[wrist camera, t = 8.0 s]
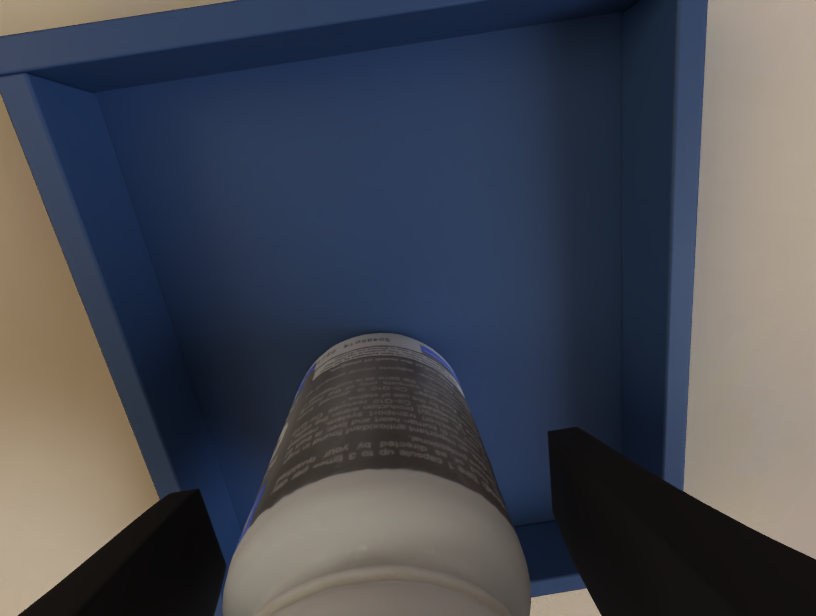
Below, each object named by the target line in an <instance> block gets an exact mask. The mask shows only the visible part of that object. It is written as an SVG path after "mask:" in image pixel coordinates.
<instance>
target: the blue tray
mask: <svg viewBox="0 0 816 616" xmlns="http://www.w3.org/2000/svg"><path fill="white" fill-rule="evenodd" d="M707 6H708V0H237V1H230V2H223V3H217V4H210V5H204V6H197V7H191V8H184V9H177V10H171V11H164V12H158V13H151V14H145V15H138V16H131V17H125V18H118V19H112V20H105V21H98V22H92V23H85V24H79V25H72V26H66V27H59V28H52V29H46V30H39V31H33V32H26V33H19V34H13V35H6V36H0V93H1V96H2V98H3V101H4V103H5V106H6V108H7V111H8V114H9V116H10V119H11V121H12V124H13V126H14V129H15V131H16V134H17V136H18V139H19V142H20V144H21V147H22V149H23V152H24V154H25V157H26V159H27V162H28V164H29V167H30V170H31V172H32V175H33V177H34V180H35V182H36V185H37V187H38V190H39V193H40V195H41V198H42V200H43V203H44V205H45V208H46V210H47V213H48V215H49V218H50V221H51V223H52V226H53V228H54V231H55V233H56V236H57V238H58V241H59V244H60V246H61V249H62V251H63V254H64V256H65V259H66V261H67V264H68V266H69V269H70V272H71V274H72V277H73V279H74V282H75V284H76V287H77V289H78V292H79V295H80V297H81V300H82V302H83V305H84V307H85V310H86V312H87V315H88V317H89V320H90V323H91V325H92V328H93V330H94V333H95V335H96V338H97V340H98V343H99V345H100V348H101V351H102V353H103V356H104V358H105V361H106V363H107V366H108V368H109V371H110V374H111V376H112V379H113V381H114V384H115V386H116V389H117V391H118V394H119V396H120V399H121V402H122V404H123V407H124V409H125V412H126V414H127V417H128V419H129V422H130V425H131V427H132V430H133V432H134V435H135V437H136V440H137V442H138V445H139V447H140V450H141V453H142V455H143V458H144V460H145V463H146V465H147V468H148V470H149V473H150V476H151V478H152V481H153V483H154V486H155V488H156V491H157V493H158V496H159V498H160V500H161V499H162V498H164V497H165V496H167V495H168V494H169V493H174V492H180V491H187V490H193V489H200V492H201V495H202V497H203V500H204V503H205V506H206V509H207V511H208V514H209V517H210V520H211V523H212V526H213V528H214V531H215V534H216V537H217V540H218V543H219V545H220V548H221V551H222V554H223V557H224V559H225V562H226V565H227V568H226V572H225V576H224V580H223V584H222V588H221V592H220V596H219V600H218V604H217V607H216V611H215V615H214V616H223V612H222V604H223V592H224V587H225V582H226V578H227V574H228V570H229V567H230V563H231V560H232V557H233V554H234V551H235V549H236V546H237V544H238V541H239V539H240V536H241V534H242V532H243V529H244V526H245V524H246V521H247V519H248V516H249V514H250V511H251V509H252V507H253V505H254V503H255V499H256V497H257V495H258V492H259V490H260V487H261V485H262V482H263V479H264V476H265V474H266V472H267V469H268V466H269V464H270V461H271V458H272V455H273V453H274V450H275V447H276V445H277V443H278V440H279V437H280V435H281V433H282V430H283V427H284V425H285V422H286V420H287V418H288V415H289V411H290V409H291V407H292V404H293V402H294V399H295V396H296V394H297V391H298V389H299V387H300V385H301V383H302V381H303V379H304V377H305V375H306V374H307V372H308V371H309V369H310V368H311V366H312V365H313V364H314V363H315V361H316V360H317V359H318V358H319V357H320V356H322V355H323V354H324V353H325V352H326V351H327V350H329V349H330V348H332V347H333V346H335V345H336V344H338V343H341V342H343V341H345V340H348V339H350V338H353V337H357V336H360V335H365V334H373V333H393V334H400V335H403V336H407V337H410V338H413V339H415V340H417V341H420V342H422V343H424V344H426V345H427V346H429V347H430V348H432V349H433V350H435V351H436V352H437V353H438V354H439V355H440V356H442V357H443V358H444V359H445V361H446V362H447V363H448V364H449V365H450V367H451V368H452V370H453V371H454V373H455V375H456V377H457V379H458V380H459V383H460V385H461V388H462V390H463V393H464V396H465V399H466V401H467V404H468V406H469V408H470V411H471V414H472V416H473V419H474V421H475V423H476V425H477V428H478V432H479V435H480V437H481V439H482V441H483V444H484V448H485V451H486V453H487V455H488V458H489V460H490V463H491V465H492V468H493V472H494V475H495V478H496V481H497V484H498V487H499V490H500V492H501V494H502V497H503V499H504V501H505V505H506V508H507V511H508V514H509V516H510V519H511V521H512V523H513V526H514V528H515V530H516V533H517V536H518V539H519V542H520V545H521V547H522V550H523V553H524V556H525V559H526V563H527V567H528V573H529V578H530V586H531V597H537V596H543V595H549V594H555V593H561V592H567V591H573V590H579V589H585V588H586V586H585V584H584V582H583V580H582V578H581V576H580V575H579V573H578V571H577V569H576V567H575V565H574V563H573V561H572V559H571V556H570V554H569V552H568V549H567V547H566V544H565V542H564V540H563V537H562V535H561V532H560V530H559V527H558V525H557V522H556V520H555V517H554V515H553V512H552V497H551V481H550V465H549V449H548V432H547V431H552V430H558V429H564V428H571V427H578V428H580V429H582V430H584V431H585V432H587V433H589V434H590V435H592V436H593V437H595V438H597V439H598V440H600V441H601V442H603V443H605V444H606V445H608V446H609V447H611V448H613V449H614V450H616V451H617V452H619V453H620V454H622V455H624V456H625V457H627V458H628V459H630V460H632V461H633V462H635V463H636V464H638V465H640V466H641V467H643V468H645V469H646V470H648V471H650V472H651V473H653V474H655V475H656V476H658V477H660V478H661V479H663V480H665V481H666V482H668V483H670V484H671V485H673V486H675V487H676V488H678V489H680V490H682V491H683V485H684V465H685V445H686V425H687V405H688V385H689V365H690V345H691V326H692V306H693V286H694V266H695V246H696V226H697V206H698V186H699V166H700V146H701V126H702V106H703V86H704V66H705V46H706V26H707Z"/></svg>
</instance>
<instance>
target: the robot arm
mask: <svg viewBox="0 0 816 616" xmlns="http://www.w3.org/2000/svg"><path fill="white" fill-rule="evenodd" d="M547 432H548V449H549V465H550V481H551V497H552V512H553V515H554V517H555V520H556V522H557V525H558V527H559V530H560V532H561V535H562V537H563V540H564V542H565V544H566V547H567V549H568V552H569V554H570V556H571V559H572V561H573V563H574V565H575V567H576V569H577V571H578V573H579V575H580V576H581V578H582V580H583V582H584V584H585V586H586V588H587V589H588V591H589V593H590V595H591V597H592V599H593V601H594V602H595V604H596V606H597V608H598V610H599V612H600V614H601V615H602V616H816V560H815V559H813V558H811V557H809V556H807V555H805V554H803V553H801V552H799V551H796V550H794V549H792V548H790V547H788V546H786V545H784V544H782V543H780V542H777V541H775V540H773V539H771V538H769V537H767V536H765V535H763V534H761V533H759V532H757V531H755V530H753V529H751V528H749V527H747V526H746V525H744V524H742V523H740V522H738V521H736V520H734V519H732V518H731V517H729V516H727V515H725V514H723V513H721V512H719V511H718V510H716V509H714V508H712V507H710V506H708V505H706V504H705V503H703V502H701V501H699V500H697V499H696V498H694V497H692V496H690V495H689V494H687V493H685V492H683V491H682V490H680V489H678V488H676V487H675V486H673V485H671V484H670V483H668V482H666V481H665V480H663V479H661V478H660V477H658V476H656V475H655V474H653V473H651V472H650V471H648V470H646V469H645V468H643V467H641V466H640V465H638V464H636V463H635V462H633V461H632V460H630V459H628V458H627V457H625V456H624V455H622V454H620V453H619V452H617V451H616V450H614V449H613V448H611V447H609V446H608V445H606V444H605V443H603V442H601V441H600V440H598V439H597V438H595V437H593V436H592V435H590V434H589V433H587V432H585V431H584V430H582V429H580V428H578V427H571V428H564V429H558V430H552V431H547ZM226 568H227V565H226V562H225V559H224V557H223V554H222V551H221V548H220V545H219V543H218V540H217V537H216V534H215V531H214V528H213V526H212V523H211V520H210V517H209V514H208V511H207V509H206V506H205V503H204V500H203V497H202V495H201V492H200V489H193V490H187V491H180V492H174V493H169V494H168V495H167V496H165V497H164V498H162V499H161V500H160V501H158V502H157V503H156V504H154V505H153V506H152V507H151V508H149V509H148V510H147V511H146V512H144V513H143V514H142V515H141V516H139V517H138V518H137V519H136V520H134V521H133V522H132V523H131V524H130V525H128V526H127V527H126V528H125V529H123V530H122V531H121V532H120V533H119V534H117V535H116V536H115V537H114V538H113V539H111V540H110V541H109V542H108V543H107V544H105V545H104V546H103V547H102V548H101V549H99V550H98V551H97V552H96V553H95V554H93V555H92V556H91V557H90V558H89V559H87V560H86V561H85V562H84V563H83V564H81V565H80V566H79V567H78V568H77V569H75V570H74V571H73V572H72V573H70V574H69V575H68V576H67V577H66V578H64V579H63V580H62V581H61V582H60V583H58V584H57V585H56V586H55V587H53V588H52V589H51V590H50V591H48V592H47V593H46V594H45V595H43V596H42V597H41V598H40V599H38V600H37V601H36V602H34V603H33V604H32V605H31V606H29V607H28V608H27V609H26V610H24V611H23V612H22V613H21V614H19V615H18V616H214V615H215V611H216V607H217V604H218V600H219V596H220V592H221V588H222V584H223V580H224V576H225V572H226Z"/></svg>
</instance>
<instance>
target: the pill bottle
mask: <svg viewBox="0 0 816 616" xmlns="http://www.w3.org/2000/svg"><path fill="white" fill-rule="evenodd" d="M530 606H531V586H530V578H529V573H528V567H527V563H526V559H525V556H524V553H523V550H522V547H521V545H520V542H519V539H518V536H517V533H516V530H515V528H514V526H513V523H512V521H511V519H510V516H509V514H508V511H507V508H506V505H505V501H504V499H503V497H502V494H501V492H500V490H499V487H498V484H497V481H496V478H495V475H494V472H493V468H492V465H491V463H490V460H489V458H488V455H487V453H486V451H485V448H484V444H483V441H482V439H481V437H480V435H479V432H478V428H477V425H476V423H475V421H474V419H473V416H472V414H471V411H470V408H469V406H468V404H467V401H466V399H465V396H464V393H463V390H462V388H461V385H460V383H459V380H458V379H457V377H456V375H455V373H454V371H453V370H452V368H451V367H450V365H449V364H448V363H447V362H446V361H445V359H444V358H443V357H442V356H440V355H439V354H438V353H437V352H436V351H435V350H433V349H432V348H430V347H429V346H427V345H426V344H424V343H422V342H420V341H417V340H415V339H413V338H410V337H407V336H403V335H400V334H393V333H373V334H365V335H360V336H357V337H353V338H350V339H348V340H345V341H343V342H341V343H338V344H336V345H335V346H333V347H332V348H330V349H329V350H327V351H326V352H325V353H324V354H323V355H322V356H320V357H319V358H318V359H317V360H316V361H315V363H314V364H313V365H312V366H311V368H310V369H309V371H308V372H307V374H306V375H305V377H304V379H303V381H302V383H301V385H300V387H299V389H298V391H297V394H296V396H295V399H294V402H293V404H292V407H291V409H290V411H289V415H288V418H287V420H286V422H285V425H284V427H283V430H282V433H281V435H280V437H279V440H278V443H277V445H276V447H275V450H274V453H273V455H272V458H271V461H270V464H269V466H268V469H267V472H266V474H265V476H264V479H263V482H262V485H261V487H260V490H259V492H258V495H257V497H256V499H255V503H254V505H253V507H252V509H251V511H250V514H249V516H248V519H247V521H246V524H245V526H244V529H243V532H242V534H241V536H240V539H239V541H238V544H237V546H236V549H235V551H234V554H233V557H232V560H231V563H230V567H229V570H228V574H227V578H226V582H225V587H224V592H223V604H222V612H223V616H529V615H530Z"/></svg>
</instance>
